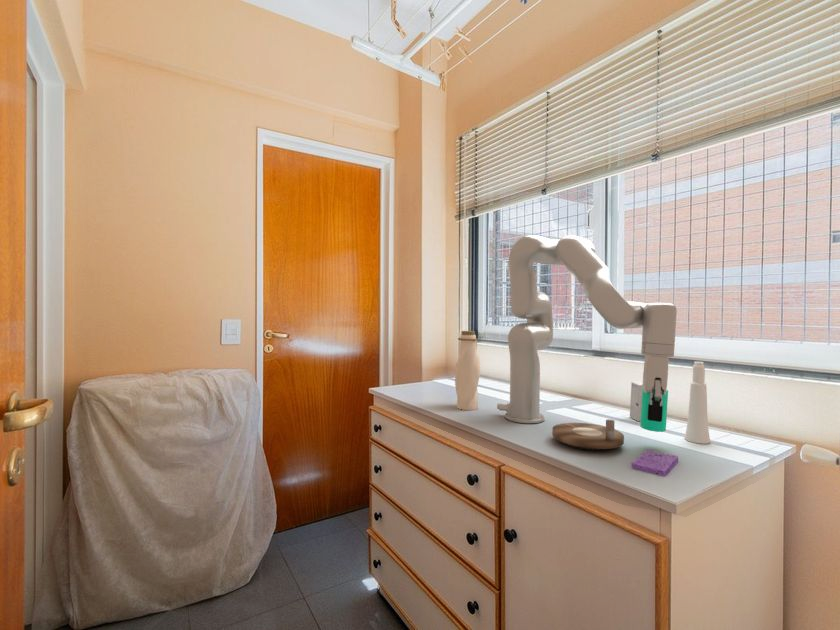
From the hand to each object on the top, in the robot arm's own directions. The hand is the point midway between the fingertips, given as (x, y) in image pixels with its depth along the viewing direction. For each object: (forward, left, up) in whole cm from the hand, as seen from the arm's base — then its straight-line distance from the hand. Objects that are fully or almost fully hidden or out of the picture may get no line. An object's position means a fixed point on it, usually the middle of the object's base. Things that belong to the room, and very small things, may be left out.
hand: (653, 417), depth 111 cm
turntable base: (-16, -4, -8) cm, 19 cm away
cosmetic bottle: (+12, +12, -8) cm, 19 cm away
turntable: (-16, -4, -6) cm, 18 cm away
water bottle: (-58, +21, -8) cm, 62 cm away
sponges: (-1, -14, -9) cm, 17 cm away
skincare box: (-1, +30, -8) cm, 31 cm away
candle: (0, 0, -3) cm, 3 cm away
